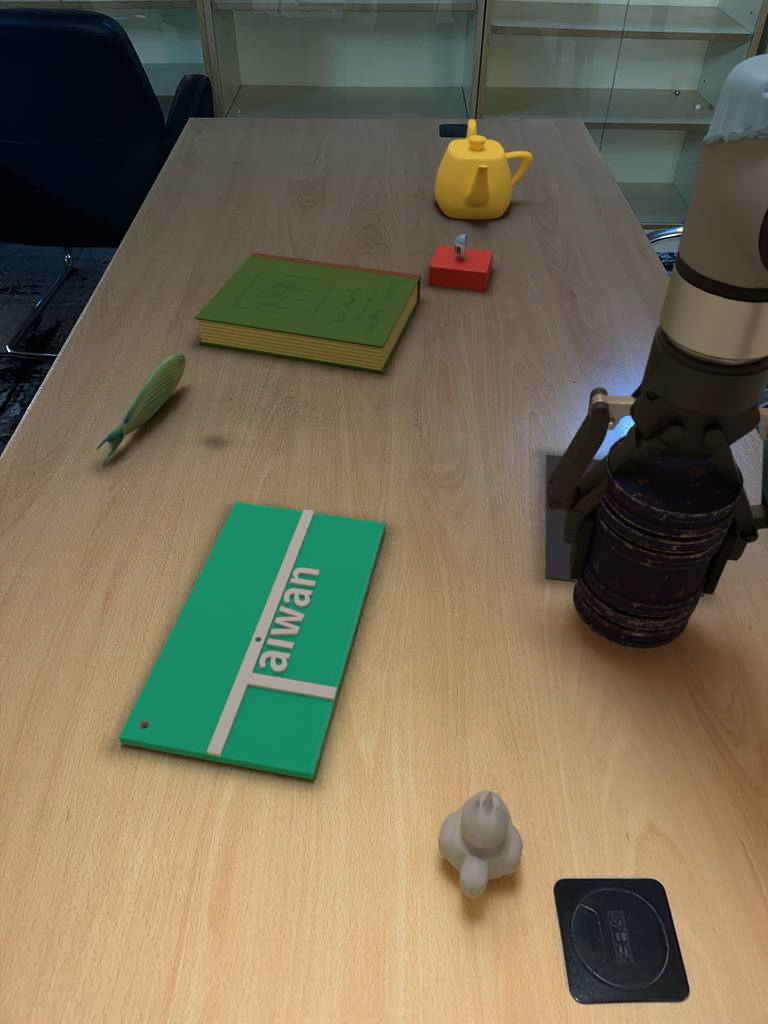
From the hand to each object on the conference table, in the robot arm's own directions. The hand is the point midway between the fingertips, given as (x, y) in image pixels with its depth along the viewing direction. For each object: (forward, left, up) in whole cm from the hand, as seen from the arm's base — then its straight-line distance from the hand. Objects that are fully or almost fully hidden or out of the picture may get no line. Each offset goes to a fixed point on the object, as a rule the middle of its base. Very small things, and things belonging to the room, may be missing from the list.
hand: (639, 574), depth 66 cm
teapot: (+73, -51, -6) cm, 89 cm away
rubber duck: (-7, +25, -6) cm, 26 cm away
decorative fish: (+48, +19, -6) cm, 51 cm away
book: (+59, -7, -6) cm, 59 cm away
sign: (+19, +25, -6) cm, 31 cm away
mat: (+9, -9, -6) cm, 14 cm away
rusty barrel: (0, 0, -4) cm, 4 cm away
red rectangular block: (+56, -31, -6) cm, 64 cm away
